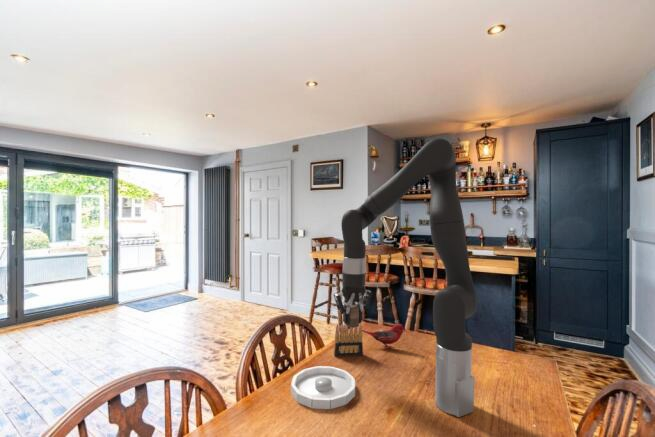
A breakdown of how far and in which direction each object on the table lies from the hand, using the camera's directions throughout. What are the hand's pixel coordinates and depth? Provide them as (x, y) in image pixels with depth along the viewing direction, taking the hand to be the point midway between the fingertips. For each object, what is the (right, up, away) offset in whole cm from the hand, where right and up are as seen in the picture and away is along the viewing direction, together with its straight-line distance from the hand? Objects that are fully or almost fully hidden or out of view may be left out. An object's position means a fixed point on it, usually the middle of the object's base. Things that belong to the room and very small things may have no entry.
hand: (352, 322), depth 105 cm
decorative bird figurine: (+14, -18, +23) cm, 32 cm away
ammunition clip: (0, -18, +16) cm, 24 cm away
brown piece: (0, -1, 0) cm, 1 cm away
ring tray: (-10, -18, -8) cm, 21 cm away
